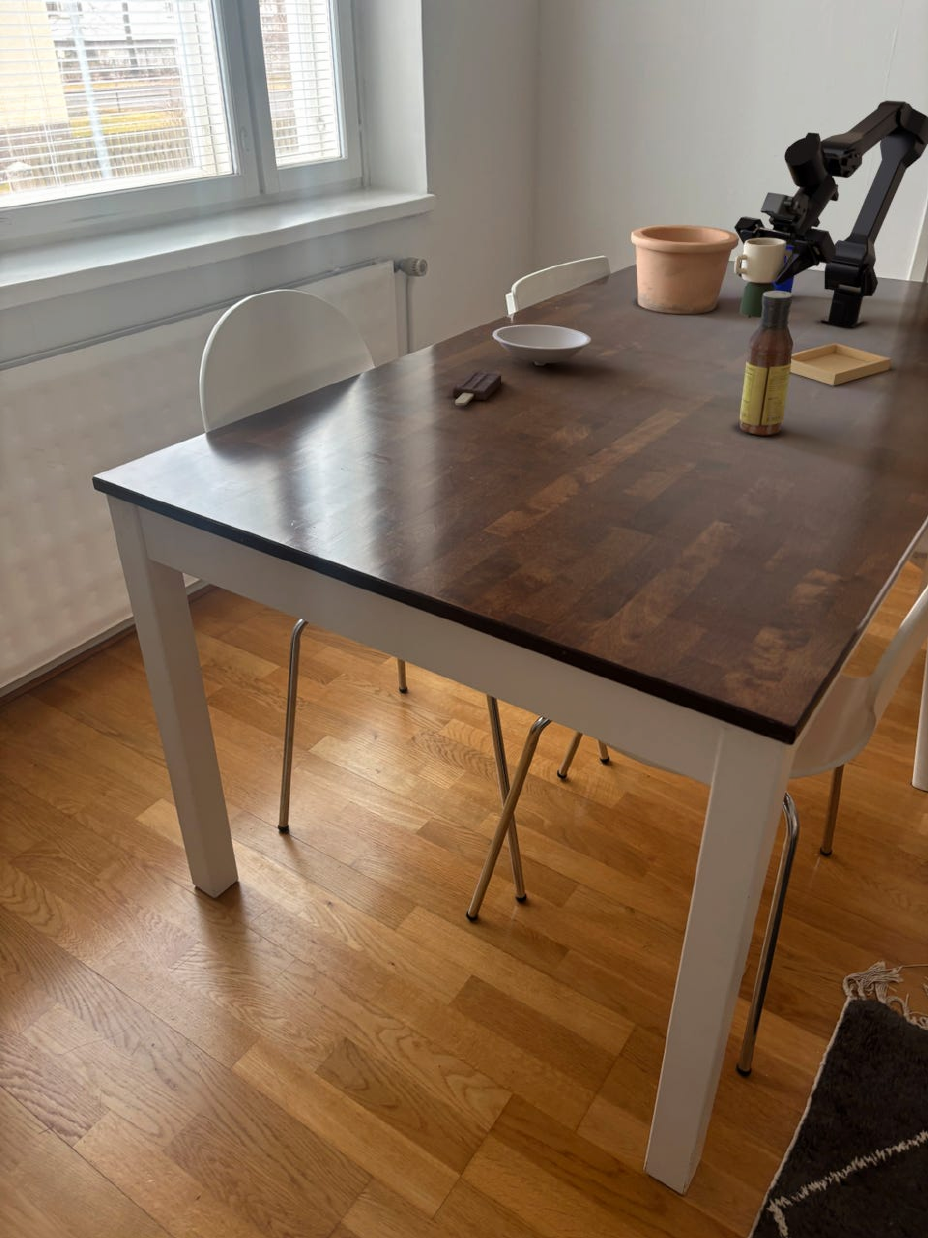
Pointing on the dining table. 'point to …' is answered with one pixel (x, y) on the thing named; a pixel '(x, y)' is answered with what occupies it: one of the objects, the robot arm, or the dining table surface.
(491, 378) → the ice cream bar
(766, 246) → the character mug
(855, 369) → the mug tray
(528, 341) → the dish
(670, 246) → the pottery
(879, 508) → the dining table surface
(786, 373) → the sauce bottle
